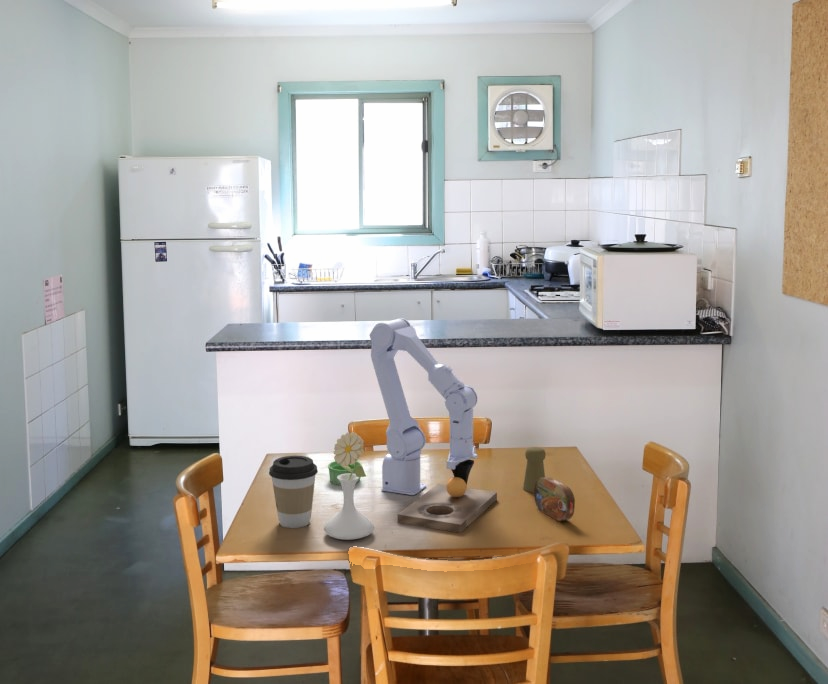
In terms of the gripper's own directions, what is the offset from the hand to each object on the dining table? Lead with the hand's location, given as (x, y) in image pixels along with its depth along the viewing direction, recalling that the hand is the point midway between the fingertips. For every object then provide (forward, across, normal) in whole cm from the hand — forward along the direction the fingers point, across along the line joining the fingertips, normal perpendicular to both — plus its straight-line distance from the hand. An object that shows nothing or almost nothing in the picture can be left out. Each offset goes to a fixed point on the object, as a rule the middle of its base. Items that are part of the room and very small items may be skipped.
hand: (461, 488), depth 248 cm
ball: (-1, -3, 0) cm, 3 cm away
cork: (+3, +16, -14) cm, 22 cm away
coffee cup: (+3, -30, +30) cm, 42 cm away
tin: (+3, 0, -24) cm, 24 cm away
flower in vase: (+3, -32, +14) cm, 35 cm away
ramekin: (+3, +2, +34) cm, 34 cm away
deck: (+3, -8, 0) cm, 8 cm away
